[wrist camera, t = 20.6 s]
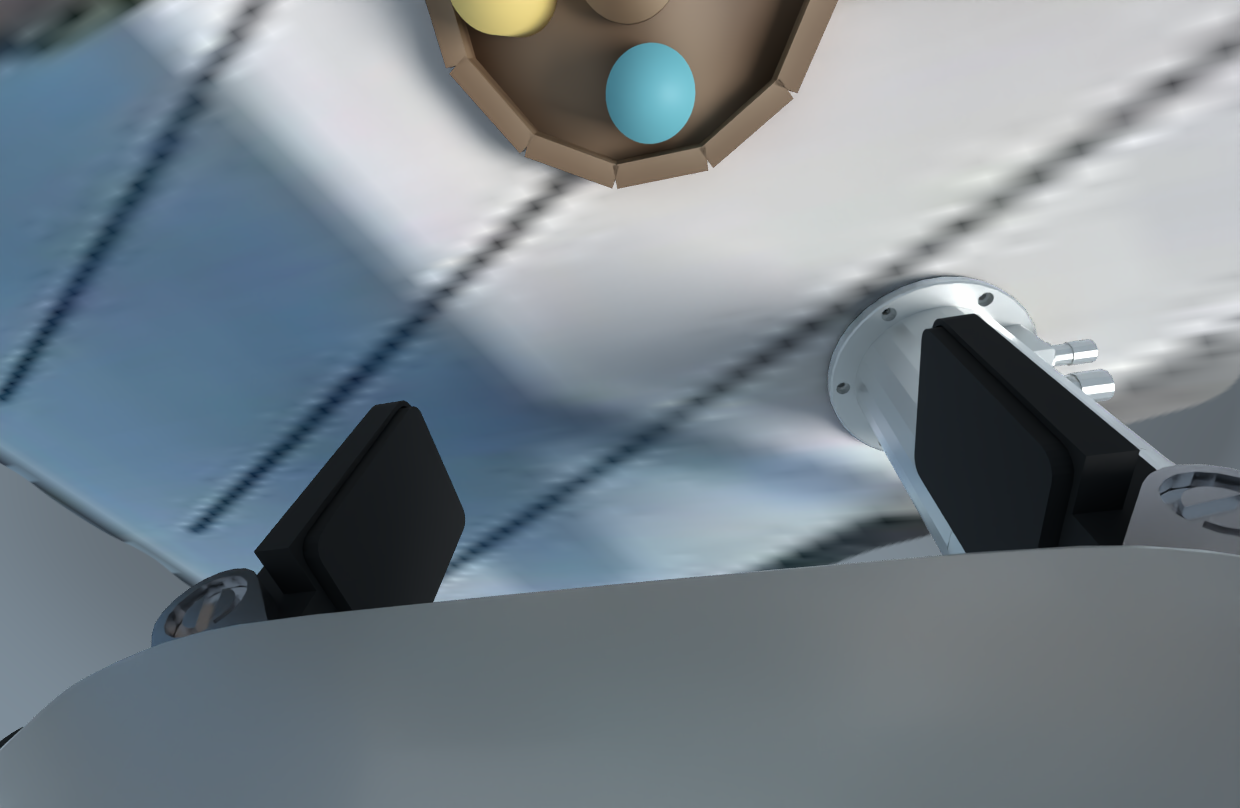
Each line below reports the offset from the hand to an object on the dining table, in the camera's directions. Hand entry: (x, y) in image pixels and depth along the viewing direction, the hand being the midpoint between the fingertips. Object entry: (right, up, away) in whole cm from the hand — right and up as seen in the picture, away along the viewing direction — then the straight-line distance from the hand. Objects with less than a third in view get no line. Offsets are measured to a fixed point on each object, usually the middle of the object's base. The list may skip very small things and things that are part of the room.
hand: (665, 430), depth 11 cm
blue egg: (+1, +17, +19) cm, 26 cm away
